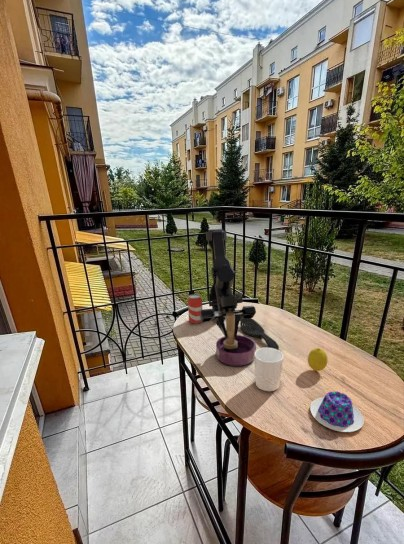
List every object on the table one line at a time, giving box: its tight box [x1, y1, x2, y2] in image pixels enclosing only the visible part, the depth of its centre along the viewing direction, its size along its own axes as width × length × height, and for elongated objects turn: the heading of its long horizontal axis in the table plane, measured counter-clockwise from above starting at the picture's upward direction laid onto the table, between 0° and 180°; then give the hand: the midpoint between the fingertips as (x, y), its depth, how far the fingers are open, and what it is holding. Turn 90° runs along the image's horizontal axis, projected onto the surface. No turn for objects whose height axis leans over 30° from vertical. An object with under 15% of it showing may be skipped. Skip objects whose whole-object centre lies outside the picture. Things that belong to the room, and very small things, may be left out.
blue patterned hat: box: [309, 391, 365, 433], centre depth 68 cm, size 12×12×5 cm
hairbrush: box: [239, 318, 280, 351], centre depth 109 cm, size 8×4×25 cm
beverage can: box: [187, 293, 203, 325], centre depth 123 cm, size 6×6×12 cm
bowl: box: [215, 334, 257, 367], centre depth 95 cm, size 13×13×5 cm
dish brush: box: [223, 313, 238, 353], centre depth 94 cm, size 5×5×15 cm
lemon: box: [307, 347, 328, 372], centre depth 86 cm, size 6×6×8 cm
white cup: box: [254, 347, 284, 392], centre depth 80 cm, size 8×8×10 cm
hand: (231, 337), depth 93 cm, fingers closed on dish brush, 3 cm apart
